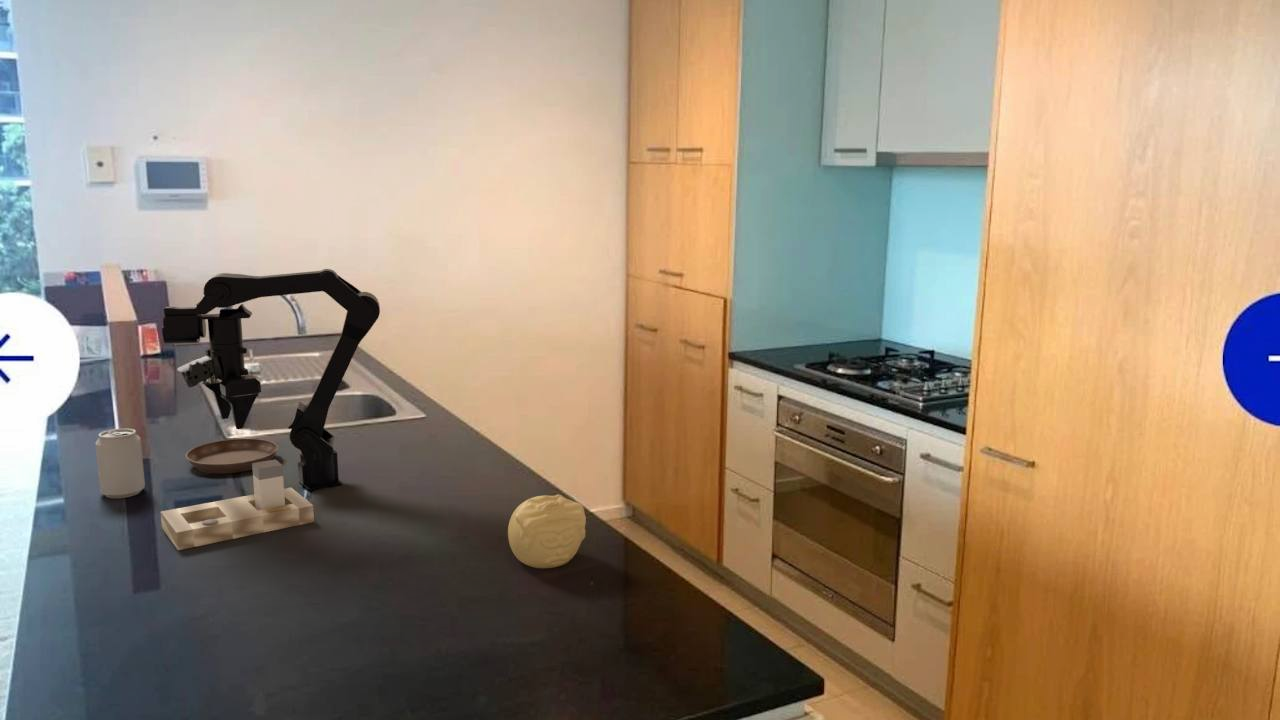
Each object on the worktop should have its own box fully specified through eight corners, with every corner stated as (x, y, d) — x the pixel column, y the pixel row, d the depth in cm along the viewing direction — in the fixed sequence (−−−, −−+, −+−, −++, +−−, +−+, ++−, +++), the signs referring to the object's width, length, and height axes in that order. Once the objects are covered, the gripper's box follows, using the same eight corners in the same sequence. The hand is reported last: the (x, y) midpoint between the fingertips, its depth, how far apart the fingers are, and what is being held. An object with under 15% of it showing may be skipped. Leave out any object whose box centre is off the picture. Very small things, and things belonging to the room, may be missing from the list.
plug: (279, 513, 176) (275, 459, 174) (286, 519, 173) (282, 464, 171) (256, 517, 174) (252, 463, 172) (262, 524, 171) (258, 468, 169)
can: (126, 501, 182) (120, 438, 180) (91, 498, 183) (84, 435, 181) (154, 488, 189) (148, 427, 187) (119, 485, 191) (113, 425, 188)
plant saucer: (273, 474, 199) (272, 459, 198) (178, 479, 195) (177, 465, 194) (283, 449, 216) (282, 436, 215) (196, 454, 212) (195, 440, 211)
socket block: (292, 503, 181) (291, 486, 181) (314, 522, 172) (313, 504, 171) (162, 528, 169) (160, 510, 168) (178, 550, 159) (176, 531, 158)
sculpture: (525, 581, 148) (524, 513, 146) (498, 553, 159) (497, 489, 157) (594, 567, 153) (594, 501, 151) (564, 541, 164) (563, 479, 162)
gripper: (167, 339, 185) (173, 419, 188) (193, 354, 171) (200, 441, 174) (228, 333, 192) (234, 411, 195) (259, 347, 178) (264, 431, 181)
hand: (232, 423), depth 186 cm, fingers open, 9 cm apart
